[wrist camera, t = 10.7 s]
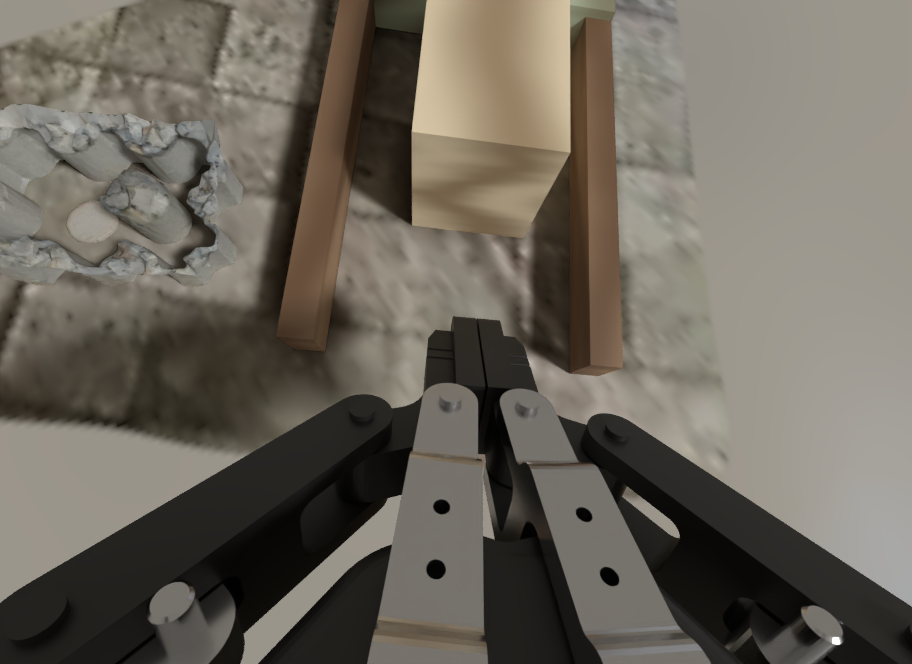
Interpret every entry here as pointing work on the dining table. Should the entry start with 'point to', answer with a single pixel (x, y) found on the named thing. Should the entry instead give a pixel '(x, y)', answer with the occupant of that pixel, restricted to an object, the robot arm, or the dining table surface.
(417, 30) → the wooden tray frame
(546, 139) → the maple block
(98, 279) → the egg carton
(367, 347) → the dining table surface
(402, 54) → the dining table surface
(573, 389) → the dining table surface
